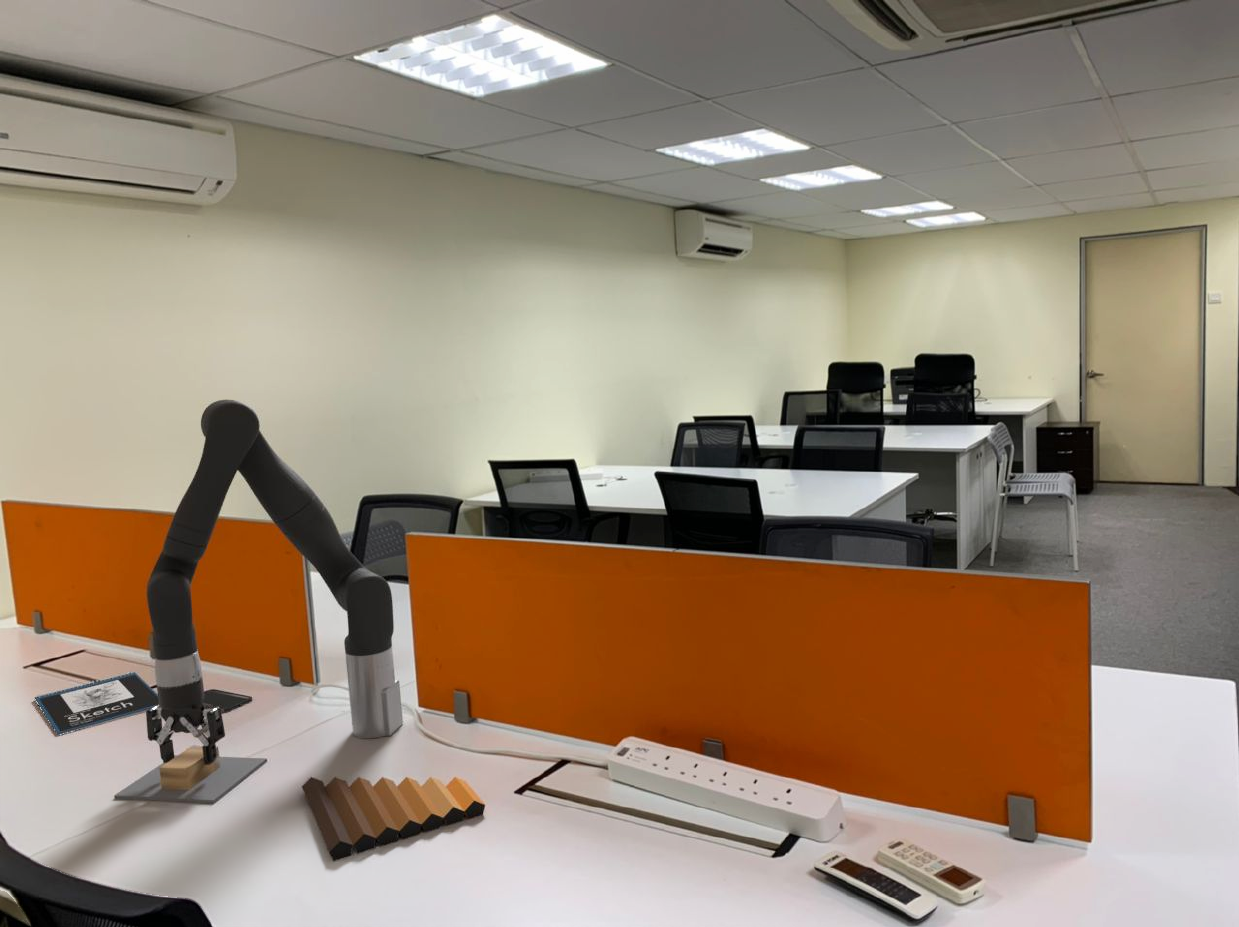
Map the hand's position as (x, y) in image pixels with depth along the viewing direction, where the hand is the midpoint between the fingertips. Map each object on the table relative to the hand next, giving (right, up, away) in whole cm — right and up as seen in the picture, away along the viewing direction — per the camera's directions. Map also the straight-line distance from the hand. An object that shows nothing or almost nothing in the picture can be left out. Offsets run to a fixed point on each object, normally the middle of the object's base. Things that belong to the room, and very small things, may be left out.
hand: (189, 762), depth 163 cm
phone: (-13, 0, +39) cm, 41 cm away
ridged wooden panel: (+40, -4, -12) cm, 42 cm away
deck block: (0, -3, 0) cm, 3 cm away
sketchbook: (-42, -1, +43) cm, 60 cm away
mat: (0, -4, +1) cm, 4 cm away
